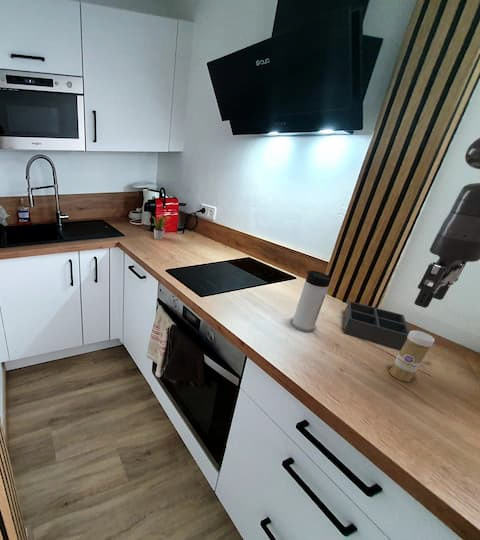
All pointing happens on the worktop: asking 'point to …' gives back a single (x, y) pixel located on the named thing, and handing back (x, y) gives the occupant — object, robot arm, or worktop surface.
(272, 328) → the worktop surface
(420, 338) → the sprinkles bottle
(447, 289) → the robot arm
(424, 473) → the worktop surface
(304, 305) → the travel mug
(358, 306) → the box
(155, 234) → the house plant
